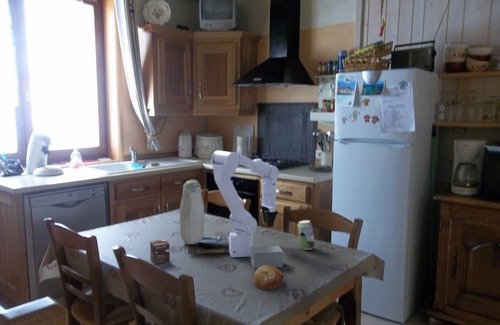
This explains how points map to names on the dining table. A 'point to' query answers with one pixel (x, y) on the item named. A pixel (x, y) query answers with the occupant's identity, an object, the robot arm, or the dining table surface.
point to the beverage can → (306, 234)
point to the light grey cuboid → (266, 256)
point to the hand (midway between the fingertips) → (268, 224)
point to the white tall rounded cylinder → (192, 213)
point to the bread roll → (268, 277)
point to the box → (159, 251)
